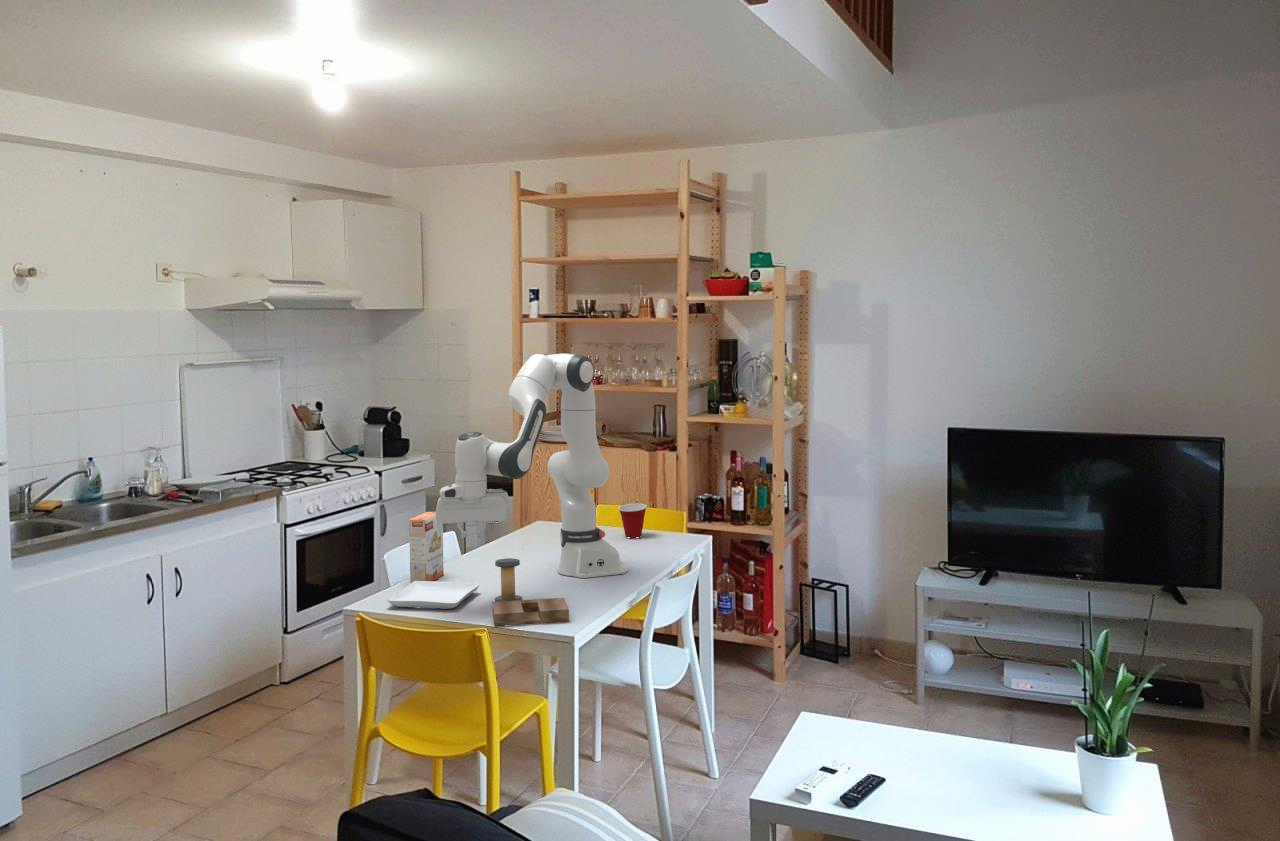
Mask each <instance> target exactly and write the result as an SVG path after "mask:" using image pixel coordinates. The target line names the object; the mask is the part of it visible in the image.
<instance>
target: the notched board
mask: <svg viewBox="0 0 1280 841" xmlns="http://www.w3.org/2000/svg"><path fill="white" fill-rule="evenodd" d="M491 605H492V619H493V618H494V619H493V625H494V627H495V628H498V626H501V627H506V626H505V625H516V626H522V625H521V624H531V625H541V623H546V624H558V623H557V622H561V623H570V608H569V606H568V604H567V602H566V599H565V598H564V597H553V598H537V599H534V598H533V599H522V600H518V601H502V602H495V601H492V604H491Z"/></svg>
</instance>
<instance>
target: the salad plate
mask: <svg viewBox="0 0 1280 841" xmlns="http://www.w3.org/2000/svg"><path fill="white" fill-rule="evenodd" d="M479 587H480V583H469V582H455V581H437V580H435V581H414V582H412V583H411V582H410V583H409V584H408V585H406V586H405V587H403V588H402V589H401V590H399V591H398V592H396V593H395V594H393V595H391V596H390V597H389V598H388V599H387V600H386V602H387V603H389V604H390V605H392V606H394V607H400V608H405V607H420V608H419V609H426V608H440V609H439V610H449V609H454V608H456V607H457V606H459V605H460V604H461V603H462V602H463V601H464V600H466V599H467V598H468V597H470V596H471V595H472V594H473V593H474V592H475V591H477V590H478V589H479Z"/></svg>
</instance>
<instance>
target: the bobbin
mask: <svg viewBox="0 0 1280 841" xmlns="http://www.w3.org/2000/svg"><path fill="white" fill-rule="evenodd" d="M494 561H495V562H494V565H495V567H497V568H500V588H501V589H500V593H501V595H499V596H496V597H495V598H494V602H502V601H518V600H523V596H520V595H517V594H516V578H515V577H516V573H515V572H516V570H515V568H516V567H518V566H520V565H521V561H520V559H517V558H511V557H510V558H508V557H507V558H500V559H497V560H494Z"/></svg>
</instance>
